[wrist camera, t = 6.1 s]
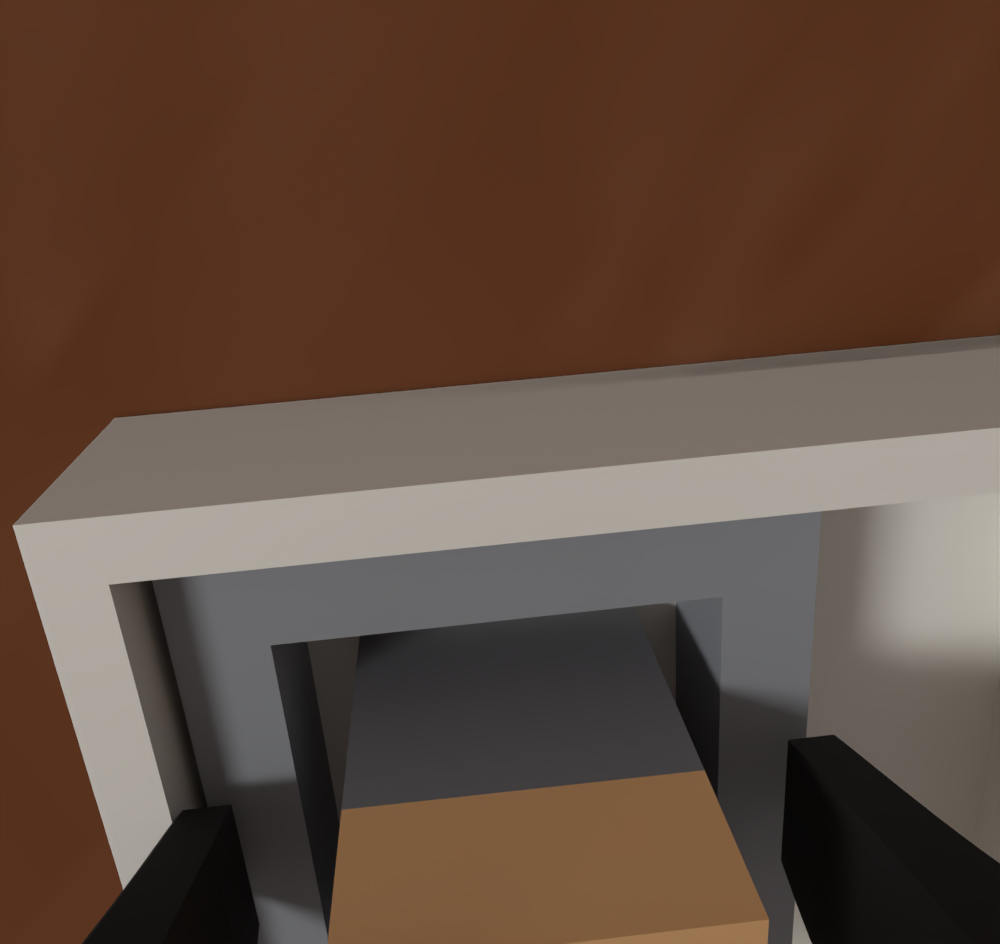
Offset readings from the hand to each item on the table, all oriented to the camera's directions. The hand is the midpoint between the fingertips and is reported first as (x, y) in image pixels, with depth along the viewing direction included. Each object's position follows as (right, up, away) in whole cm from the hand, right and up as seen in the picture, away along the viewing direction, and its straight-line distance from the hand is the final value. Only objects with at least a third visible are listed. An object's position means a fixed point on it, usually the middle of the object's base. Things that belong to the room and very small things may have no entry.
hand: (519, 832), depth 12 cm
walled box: (+2, +1, +4) cm, 4 cm away
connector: (0, +1, +3) cm, 3 cm away
